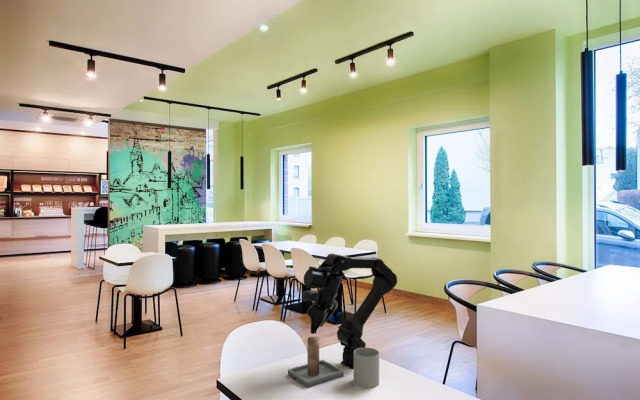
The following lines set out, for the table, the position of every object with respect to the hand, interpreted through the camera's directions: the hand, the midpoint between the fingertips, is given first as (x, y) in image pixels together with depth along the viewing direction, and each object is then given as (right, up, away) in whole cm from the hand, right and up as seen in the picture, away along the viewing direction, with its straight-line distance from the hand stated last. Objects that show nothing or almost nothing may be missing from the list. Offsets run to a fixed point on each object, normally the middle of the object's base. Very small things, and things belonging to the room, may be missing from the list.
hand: (316, 329), depth 144 cm
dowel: (-1, -13, -7) cm, 15 cm away
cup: (+17, -14, -12) cm, 25 cm away
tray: (0, -14, -6) cm, 15 cm away
